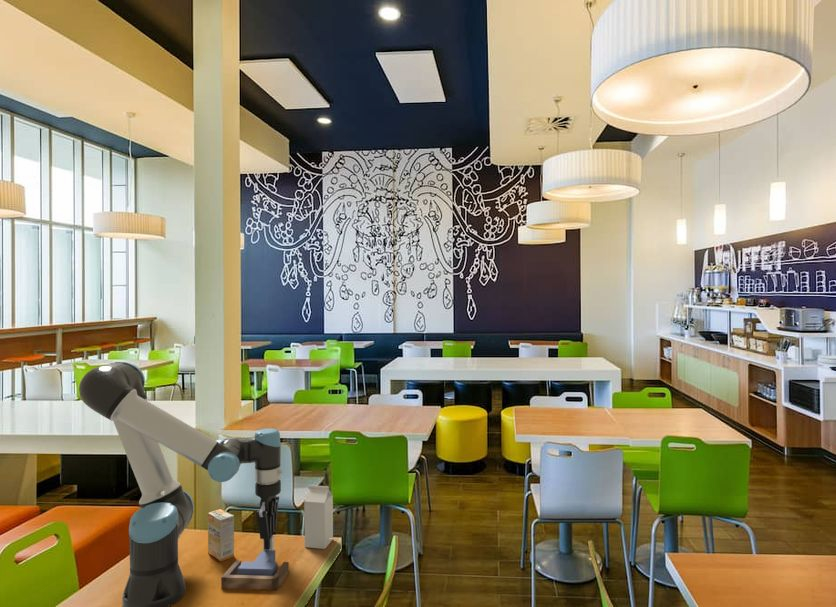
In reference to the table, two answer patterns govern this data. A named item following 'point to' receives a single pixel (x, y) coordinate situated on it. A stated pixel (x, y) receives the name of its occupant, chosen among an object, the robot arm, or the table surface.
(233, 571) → the walnut dock
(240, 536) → the table surface
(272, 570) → the slate blue t block
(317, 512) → the milk carton
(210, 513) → the supplement box
